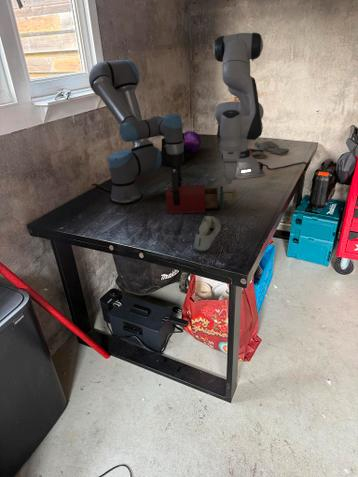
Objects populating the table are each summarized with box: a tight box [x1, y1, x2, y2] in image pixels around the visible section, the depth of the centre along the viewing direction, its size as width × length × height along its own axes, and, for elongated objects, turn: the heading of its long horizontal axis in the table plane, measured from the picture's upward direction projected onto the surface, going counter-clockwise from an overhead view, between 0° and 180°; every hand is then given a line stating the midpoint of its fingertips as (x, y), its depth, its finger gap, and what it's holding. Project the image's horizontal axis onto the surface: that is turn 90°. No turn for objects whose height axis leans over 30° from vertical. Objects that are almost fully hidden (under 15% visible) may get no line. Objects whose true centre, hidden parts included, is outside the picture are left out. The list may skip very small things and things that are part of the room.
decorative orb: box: [183, 130, 202, 154], centre depth 230 cm, size 15×15×15 cm
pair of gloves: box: [247, 140, 290, 159], centre depth 223 cm, size 30×26×5 cm
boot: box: [216, 121, 221, 148], centre depth 246 cm, size 9×24×20 cm, turn 168°
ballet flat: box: [193, 215, 222, 253], centre depth 127 cm, size 8×24×8 cm, turn 163°
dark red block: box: [165, 184, 206, 215], centre depth 151 cm, size 17×11×9 cm, turn 85°
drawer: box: [205, 186, 238, 210], centre depth 150 cm, size 22×10×7 cm, turn 85°
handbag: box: [160, 132, 188, 167], centre depth 211 cm, size 21×9×25 cm, turn 148°
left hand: (178, 199), depth 152 cm, fingers closed on dark red block, 11 cm apart
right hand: (229, 182), depth 146 cm, fingers closed
